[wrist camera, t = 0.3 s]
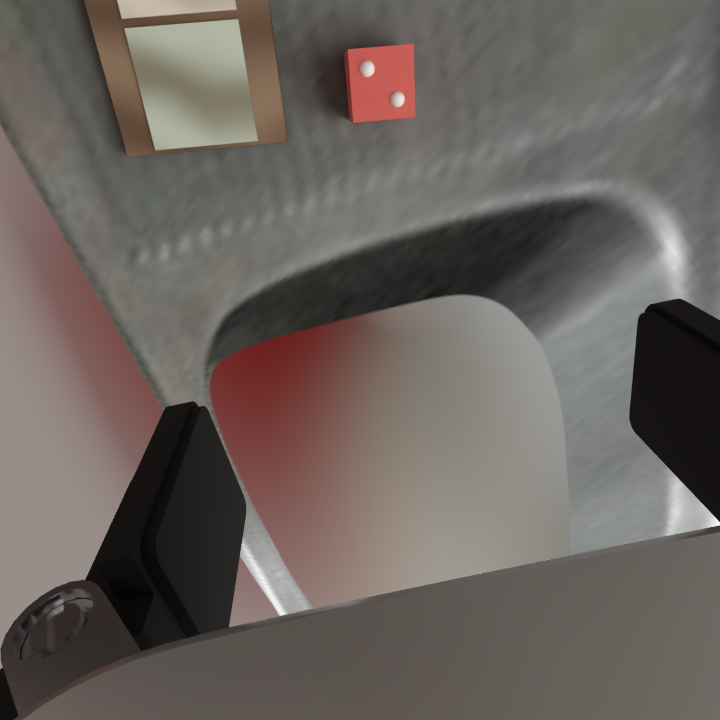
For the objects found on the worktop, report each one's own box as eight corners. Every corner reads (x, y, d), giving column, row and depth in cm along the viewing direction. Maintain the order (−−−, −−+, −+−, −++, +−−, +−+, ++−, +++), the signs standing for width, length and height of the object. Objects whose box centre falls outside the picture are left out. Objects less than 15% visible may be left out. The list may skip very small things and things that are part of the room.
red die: (343, 53, 33) (348, 48, 30) (403, 48, 34) (414, 43, 30) (349, 119, 35) (353, 123, 31) (404, 114, 35) (416, 117, 32)
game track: (53, -131, 28) (43, -140, 27) (249, -144, 28) (247, -154, 27) (132, 155, 35) (126, 156, 34) (287, 140, 36) (287, 142, 35)
